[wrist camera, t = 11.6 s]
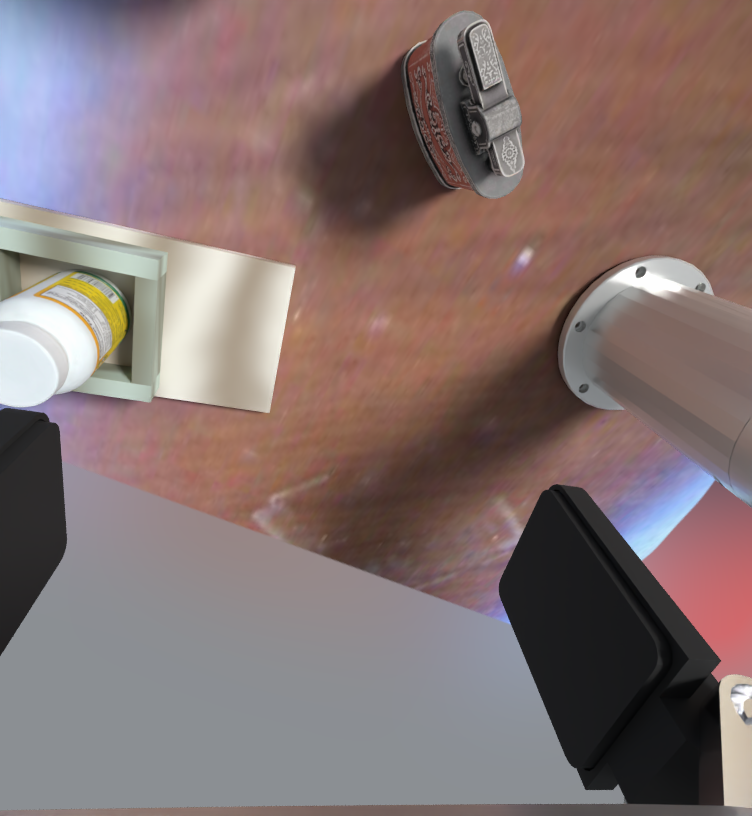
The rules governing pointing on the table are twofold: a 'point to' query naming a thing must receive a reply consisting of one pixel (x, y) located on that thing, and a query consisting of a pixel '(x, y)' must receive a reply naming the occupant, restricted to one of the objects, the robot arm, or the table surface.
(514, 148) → the lighter
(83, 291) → the supplement bottle
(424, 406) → the table surface
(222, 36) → the table surface
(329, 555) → the table surface
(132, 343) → the bottle caddy
